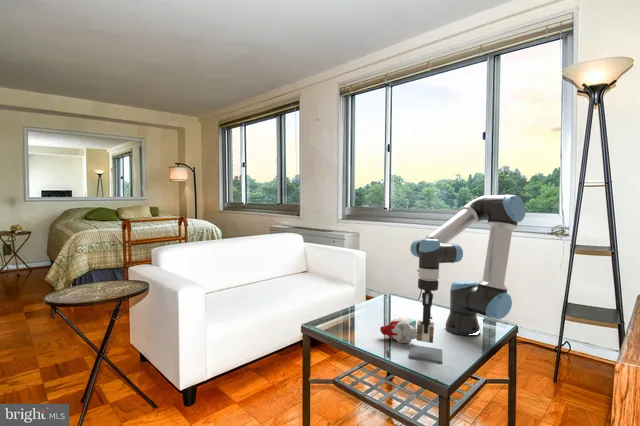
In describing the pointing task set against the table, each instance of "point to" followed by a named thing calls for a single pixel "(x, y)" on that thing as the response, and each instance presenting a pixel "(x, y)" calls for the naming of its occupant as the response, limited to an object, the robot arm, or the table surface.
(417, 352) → the mat
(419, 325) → the walnut cube
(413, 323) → the teal block
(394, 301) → the table surface
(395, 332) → the white two-tone toothed figurine
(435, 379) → the table surface
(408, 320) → the cream capsule cylinder
